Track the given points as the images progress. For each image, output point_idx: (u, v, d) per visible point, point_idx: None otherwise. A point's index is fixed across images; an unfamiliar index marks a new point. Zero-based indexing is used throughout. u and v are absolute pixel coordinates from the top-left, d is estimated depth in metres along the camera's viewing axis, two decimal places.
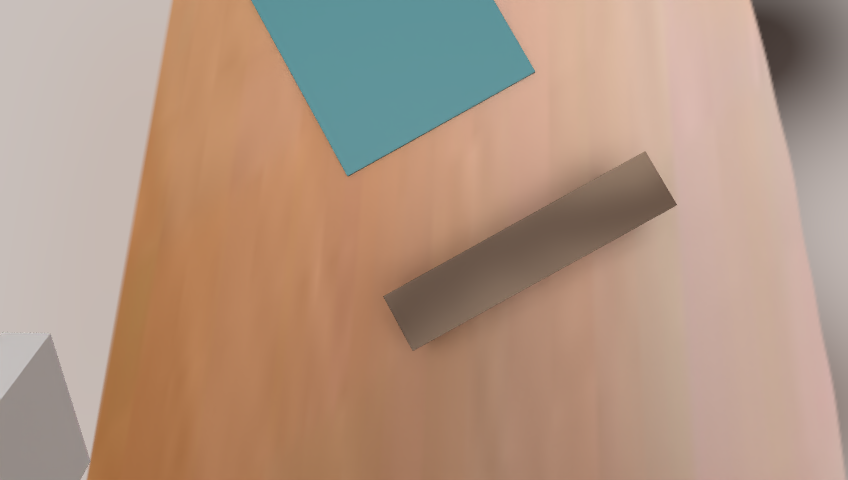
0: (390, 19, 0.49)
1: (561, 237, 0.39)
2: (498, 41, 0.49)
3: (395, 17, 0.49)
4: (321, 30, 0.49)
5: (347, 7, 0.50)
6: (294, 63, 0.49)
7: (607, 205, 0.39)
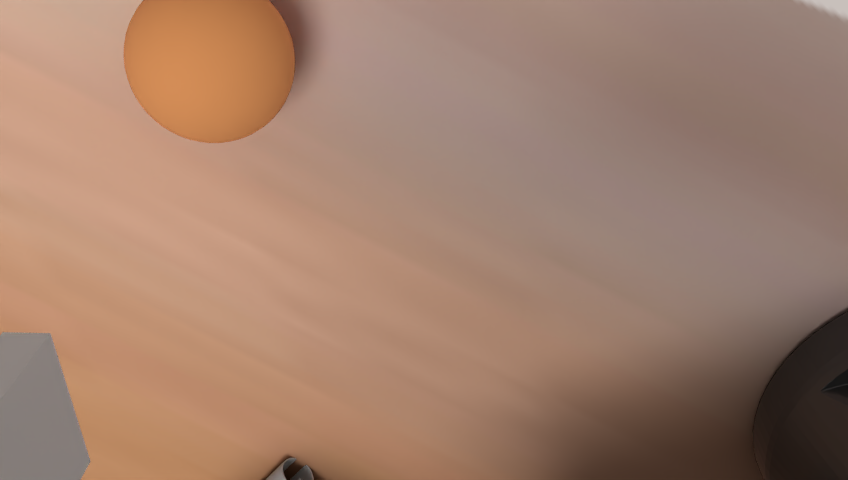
0: None
1: None
2: None
3: None
4: None
5: None
6: None
7: None
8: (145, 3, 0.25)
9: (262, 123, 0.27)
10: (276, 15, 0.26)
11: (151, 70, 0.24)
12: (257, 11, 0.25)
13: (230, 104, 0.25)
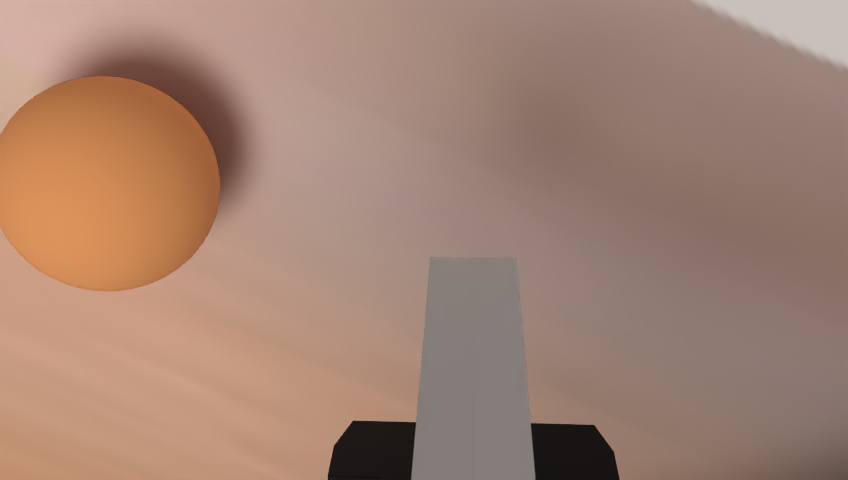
0: None
1: None
2: None
3: None
4: None
5: None
6: None
7: None
8: (11, 123, 0.19)
9: (177, 265, 0.21)
10: (188, 127, 0.20)
11: (17, 214, 0.18)
12: (158, 128, 0.19)
13: (125, 253, 0.19)
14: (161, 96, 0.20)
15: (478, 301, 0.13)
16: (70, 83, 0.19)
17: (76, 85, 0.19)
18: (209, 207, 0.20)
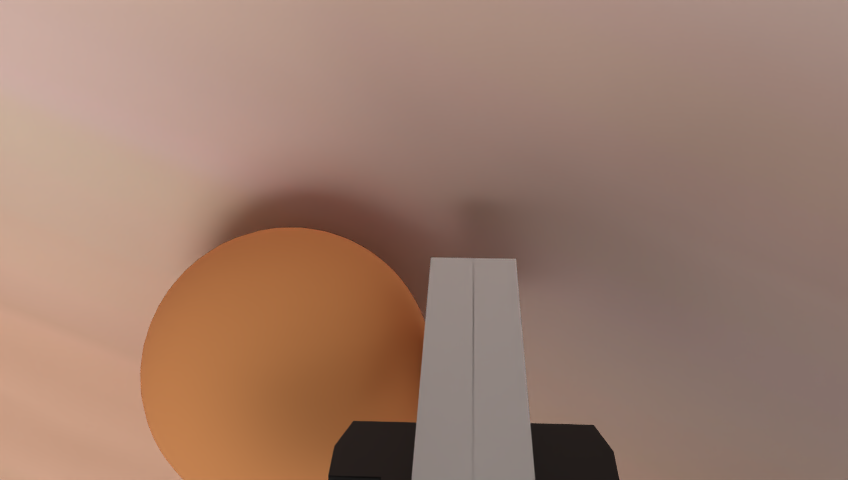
0: None
1: None
2: None
3: None
4: None
5: None
6: None
7: None
8: (189, 267, 0.15)
9: None
10: (363, 346, 0.13)
11: None
12: (306, 342, 0.13)
13: None
14: (354, 288, 0.14)
15: (478, 302, 0.13)
16: (259, 238, 0.15)
17: (258, 245, 0.14)
18: None
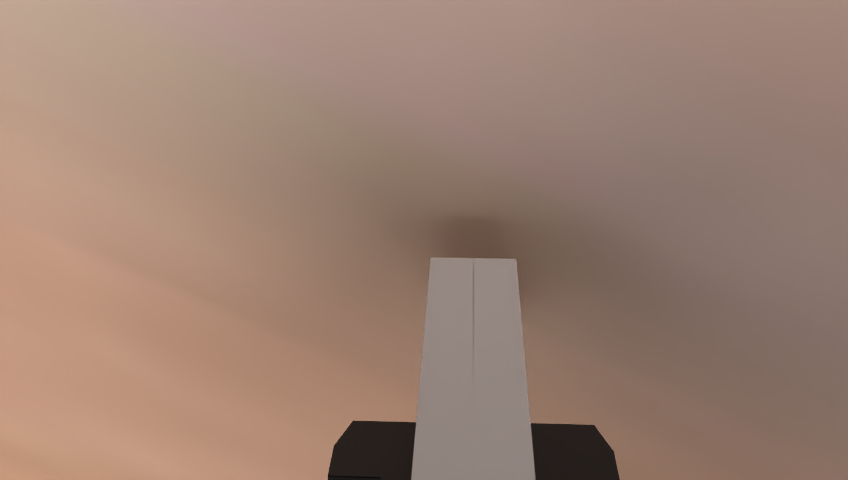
0: None
1: None
2: None
3: None
4: None
5: None
6: None
7: None
8: None
9: None
10: None
11: None
12: None
13: None
14: None
15: (478, 301, 0.13)
16: None
17: None
18: None
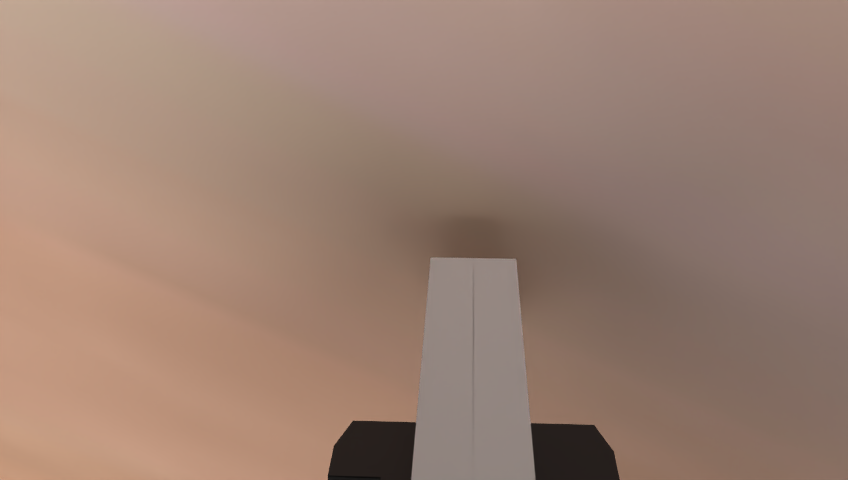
0: None
1: None
2: None
3: None
4: None
5: None
6: None
7: None
8: None
9: None
10: None
11: None
12: None
13: None
14: None
15: (478, 301, 0.13)
16: None
17: None
18: None
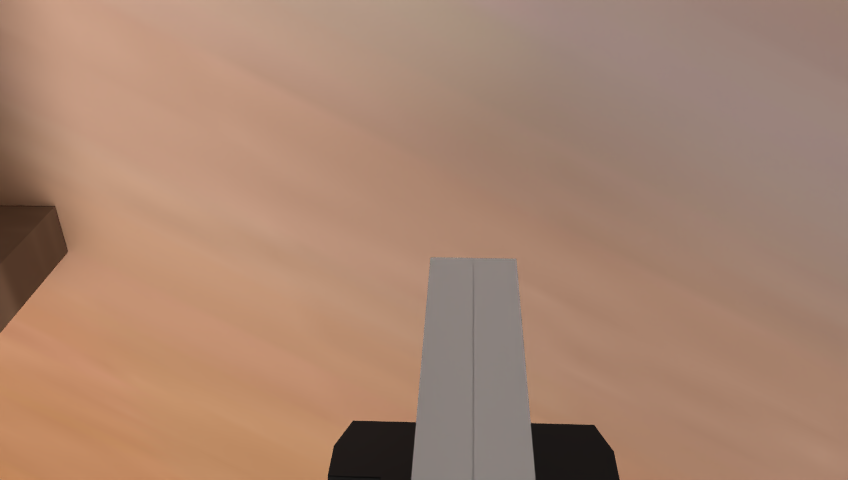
0: None
1: None
2: None
3: None
4: None
5: None
6: None
7: None
8: None
9: None
10: None
11: None
12: None
13: None
14: None
15: (478, 301, 0.13)
16: None
17: None
18: None
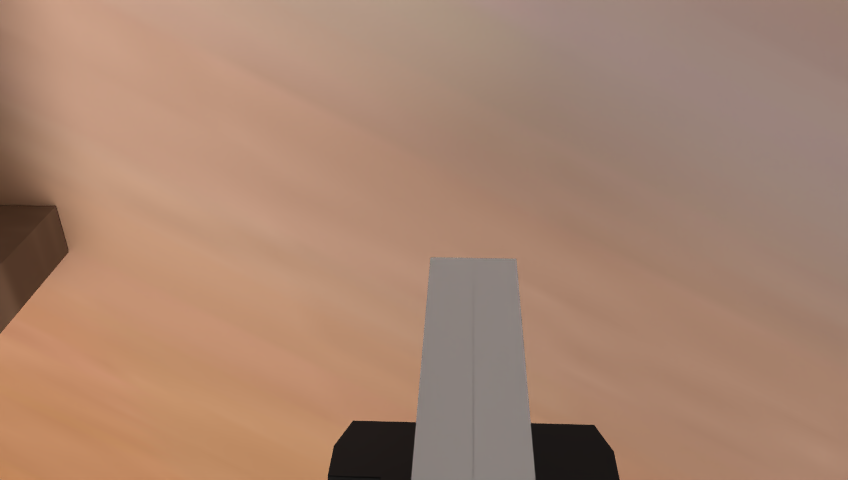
0: None
1: None
2: None
3: None
4: None
5: None
6: None
7: None
8: None
9: None
10: None
11: None
12: None
13: None
14: None
15: (478, 302, 0.13)
16: None
17: None
18: None
